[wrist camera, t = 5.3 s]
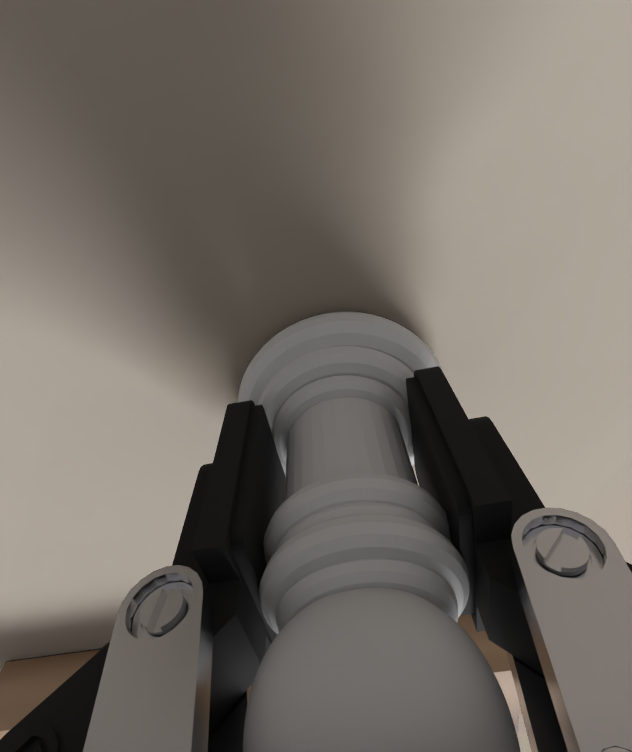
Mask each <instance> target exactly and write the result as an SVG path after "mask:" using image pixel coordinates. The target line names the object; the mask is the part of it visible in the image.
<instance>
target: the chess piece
mask: <svg viewBox="0 0 632 752" xmlns="http://www.w3.org/2000/svg"><path fill="white" fill-rule="evenodd" d="M436 366H439V367H440V368H441V366H440V364H439V361H438V360H437V358H436V357H435V355H434V354H433V352H432V351H431V349H430V348H429V347H428V346H427V345H426V344H425V343H424V342H423V341H422V340H421V339H420V338H419V337H417V336H416V335H415V334H414V333H412V332H411V331H409V330H408V329H406V328H404V327H403V326H401V325H399V324H397V323H395V322H393V321H391V320H388V319H386V318H383V317H380V316H376V315H373V314H367V313H361V312H333V313H325V314H321V315H316V316H312V317H310V318H307V319H304V320H301V321H299V322H297V323H295V324H293V325H291V326H289V327H287V328H285V329H284V330H282V331H281V332H279V333H278V334H276V335H275V336H274V337H273V338H272V339H271V340H269V341H268V342H267V343H266V344H265V345H264V346H263V347H262V348H261V350H260V351H259V352H258V353H257V354H256V355H255V357H254V358H253V359H252V361H251V363H250V364H249V366H248V367H247V369H246V372H245V374H244V376H243V378H242V381H241V385H240V389H239V395H238V402H243V401H249V400H252V401H253V402H254V404H255V406H256V405H262V406H263V407H264V410H265V413H266V416H267V420H268V423H269V426H270V429H271V432H272V435H273V439H274V442H275V446H276V449H277V452H278V456H279V458H280V461H281V464H282V467H283V470H284V474H285V477H286V478H285V501H284V502H283V503H282V504H281V505H280V507H279V508H278V509H277V510H276V512H275V513H274V515H273V517H272V518H271V520H270V523H269V525H268V527H267V530H266V533H265V536H264V542H263V546H264V553H265V560H266V563H267V566H266V569H265V571H264V574H263V576H262V579H261V582H260V588H259V597H260V603H261V608H262V611H263V615H264V617H265V619H266V621H267V623H268V625H269V626H270V627H271V628H272V630H273V631H274V632H275V633H276V634H277V636H276V637H275V639H274V640H273V642H272V643H271V645H270V646H269V648H268V650H267V652H266V654H265V656H264V657H263V660H262V662H261V664H260V666H259V668H258V671H257V673H256V676H255V679H254V682H253V685H252V688H251V692H250V696H249V700H248V704H247V710H246V715H245V723H244V733H243V752H520V747H519V742H518V738H517V734H516V730H515V726H514V723H513V719H512V716H511V713H510V710H509V707H508V704H507V702H506V699H505V696H504V694H503V692H502V689H501V687H500V685H499V683H498V680H497V678H496V676H495V674H494V673H493V671H492V669H491V667H490V665H489V663H488V662H487V660H486V658H485V657H484V655H483V654H482V652H481V651H480V649H479V648H478V646H477V645H476V644H475V642H474V641H473V640H472V638H471V637H470V636H469V635H468V634H467V632H466V631H465V630H464V629H463V628H462V627H461V626H460V625H459V624H458V618H459V616H460V615H461V613H462V612H463V610H464V608H465V606H466V604H467V601H468V597H469V576H468V570H467V566H466V563H465V562H464V560H463V558H462V556H461V555H460V553H459V552H458V551H457V549H456V548H455V547H454V546H453V544H452V543H451V537H450V528H449V523H448V519H447V514H446V512H445V511H444V509H443V508H442V507H441V505H440V504H439V503H438V502H437V500H436V499H435V498H434V497H433V496H432V495H431V494H430V493H428V492H427V491H426V490H424V489H423V488H421V487H420V486H418V484H417V480H416V477H415V474H414V471H413V468H412V466H413V465H414V454H413V445H412V432H411V423H410V416H409V407H408V397H407V388H406V378H411V377H414V370H420V369H425V368H431V367H436ZM441 370H442V368H441ZM442 372H443V371H442ZM443 374H444V373H443Z"/></svg>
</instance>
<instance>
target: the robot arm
mask: <svg viewBox="0 0 632 752" xmlns="http://www.w3.org/2000/svg"><path fill="white" fill-rule="evenodd" d="M406 388H407V397H408V407H409V416H410V423H411V432H412V445H413V454H414V464H415V470H416V475H417V479H418V482H419V485H420V487H421V488H423V489H424V490H426V491H427V492H428V493H430V494H431V495H432V496H433V497H434V498H435V499H436V500H437V502H438V503H439V504H440V505H441V507H442V508H443V509H444V511H445V512H446V514H447V519H448V523H449V528H450V537H451V543H452V544H453V546H454V547H455V548H456V549H457V551H458V552H459V553H460V555H461V556H462V558H463V560H464V562H465V563H466V566H467V570H468V576H469V597H468V601H467V604H466V606H465V608H464V610H463V612H462V613H461V615H468V614H471V616H472V619H473V622H474V625H475V628H476V631H477V632H480V631H486V633H487V636H488V639H489V640H490V641H491V642H493V643H494V644H496V645H498V646H499V647H501V648H502V649H504V650H505V651H507V657H508V661H509V665H510V668H511V672H512V676H513V680H514V684H515V688H516V692H517V696H518V700H519V704H520V708H521V711H522V715H523V719H524V723H525V727H526V731H527V735H528V739H529V743H530V747H531V750H532V752H632V564H629V563H627V562H625V560H624V558H623V557H622V555H621V553H620V551H619V550H618V548H617V546H616V544H615V542H614V541H613V540H612V539H611V537H610V536H609V535H608V533H607V532H606V531H605V530H604V529H603V528H602V527H600V526H599V525H598V524H597V523H595V522H594V521H593V520H591V519H589V518H587V517H585V516H583V515H581V514H579V513H577V512H573V511H569V510H565V509H562V508H545V507H544V505H543V503H542V502H541V500H540V499H539V497H538V495H537V494H536V492H535V490H534V489H533V487H532V486H531V484H530V482H529V481H528V479H527V477H526V476H525V474H524V473H523V471H522V469H521V468H520V466H519V465H518V463H517V461H516V460H515V458H514V456H513V455H512V453H511V452H510V450H509V448H508V447H507V445H506V443H505V442H504V440H503V439H502V437H501V435H500V434H499V432H498V430H497V429H496V427H495V426H494V424H493V422H492V421H491V420H490V419H489V418H488V417H486V416H485V417H479V418H474V419H468V418H467V416H466V414H465V412H464V410H463V408H462V407H461V405H460V403H459V401H458V399H457V397H456V396H455V394H454V392H453V390H452V388H451V386H450V385H449V383H448V381H447V379H446V377H445V375H444V374H443V372H442V370H441V368H440V367H439V366H436V367H431V368H425V369H420V370H414V377H411V378H406ZM285 478H286V477H285V474H284V470H283V467H282V464H281V461H280V458H279V456H278V452H277V449H276V446H275V442H274V439H273V435H272V432H271V429H270V426H269V423H268V420H267V416H266V413H265V410H264V407H263V406H262V405H256V406H255V404H254V402H253V401H252V400H249V401H243V402H238V403H232V404H229V405H228V406H227V409H226V413H225V417H224V421H223V425H222V429H221V433H220V437H219V441H218V445H217V449H216V453H215V457H214V461H213V463H211V464H205V465H203V466H202V467H201V468H200V470H199V473H198V476H197V480H196V483H195V487H194V490H193V494H192V497H191V501H190V504H189V508H188V512H187V515H186V519H185V522H184V526H183V529H182V533H181V536H180V540H179V543H178V547H177V551H176V554H175V558H174V561H173V565H172V566H166V567H164V568H161V569H159V570H156V571H153V572H152V573H150V574H149V575H147V576H146V577H144V578H143V579H141V580H140V581H139V582H138V583H137V584H136V585H135V586H134V587H133V588H132V589H131V590H130V591H129V593H128V594H127V596H126V597H125V599H124V600H123V602H122V603H121V606H120V608H119V611H118V614H117V616H116V620H115V624H114V628H113V632H112V636H111V640H110V642H109V643H108V644H107V645H106V646H104V647H103V648H102V649H101V650H100V651H99V652H98V653H97V654H95V655H94V656H93V657H92V658H91V659H90V660H89V661H88V662H86V663H85V664H84V665H83V666H82V667H81V668H80V669H79V670H77V671H76V672H75V673H74V674H73V675H72V676H71V677H69V678H68V679H67V680H66V681H65V682H64V683H63V684H62V685H60V686H59V687H58V688H57V689H56V690H55V691H54V692H53V693H51V694H50V695H49V696H48V697H47V698H46V699H45V700H44V701H42V702H41V703H40V704H39V705H38V706H37V707H36V708H34V709H33V710H32V711H31V712H30V713H29V714H28V715H27V716H25V717H24V718H23V719H22V720H21V721H20V722H19V723H18V724H16V725H15V726H14V727H13V728H12V729H11V730H10V731H9V732H7V733H6V734H5V735H4V736H3V737H2V738H1V739H0V752H243V733H244V723H245V715H246V710H247V704H248V700H249V696H250V692H251V688H252V685H253V682H254V679H255V676H256V673H257V671H258V668H259V666H260V664H261V662H262V660H263V657H264V656H265V654H266V652H267V650H268V648H269V646H270V645H271V643H272V642H273V640H274V639H275V637H276V636H277V634H276V633H275V632H274V631H273V630H272V628H271V627H270V626H269V625H268V623H267V621H266V619H265V617H264V615H263V611H262V608H261V603H260V597H259V588H260V582H261V579H262V576H263V574H264V571H265V569H266V566H267V563H266V560H265V553H264V546H263V542H264V536H265V533H266V530H267V527H268V525H269V523H270V520H271V518H272V517H273V515H274V513H275V512H276V510H277V509H278V508H279V507H280V505H281V504H282V503H283V502H284V501H285Z"/></svg>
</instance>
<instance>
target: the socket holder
mask: <svg viewBox="0 0 632 752" xmlns="http://www.w3.org/2000/svg"><path fill="white" fill-rule="evenodd" d="M458 624H459V625H460V626H461V627H462V628H463V629H464V630H465V631H466V632H467V634H468V635H469V636H470V637H471V638H472V640H473V641H474V642H475V644H476V645H477V646H478V648H479V649H480V651H481V652H482V654H483V655H484V657H485V658H486V660H487V662H488V663H489V665H490V667H491V669H492V671H493V673H494V674H495V676H496V678H497V680H498V683H499V685H500V687H501V689H502V692H503V694H504V696H505V699H506V702H507V704H508V707H509V710H510V713H511V716H512V719H513V723H514V726H515V730H516V734H517V732H518V721H519V710H520V704H519V700H518V696H517V692H516V688H515V684H514V680H513V676H512V672H511V668H510V665H509V661H508V657H507V651H505V650H504V649H502V648H501V647H499V646H498V645H496V644H494V643H493V642H491V641H490V640H489V639H488V636H487V633H486V631H480V632H477V631H476V628H475V625H474V622H473V619H472V616H471V614H468V615H460V616H459V618H458ZM99 651H100V650H93V651H86V652H78V653H70V654H63V655H55V656H48V657H40V658H33V659H25V660H17V661H10V662H6V663H5V665H4V667H3V669H2V671H1V672H0V739H1V738H2V737H3V736H4V735H5V734H6V733H7V732H9V731H10V730H11V729H12V728H13V727H14V726H15V725H16V724H18V723H19V722H20V721H21V720H22V719H23V718H24V717H25V716H27V715H28V714H29V713H30V712H31V711H32V710H33V709H34V708H36V707H37V706H38V705H39V704H40V703H41V702H42V701H44V700H45V699H46V698H47V697H48V696H49V695H50V694H51V693H53V692H54V691H55V690H56V689H57V688H58V687H59V686H60V685H62V684H63V683H64V682H65V681H66V680H67V679H68V678H69V677H71V676H72V675H73V674H74V673H75V672H76V671H77V670H79V669H80V668H81V667H82V666H83V665H84V664H85V663H86V662H88V661H89V660H90V659H91V658H92V657H93V656H94V655H95V654H97V653H98V652H99Z"/></svg>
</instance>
